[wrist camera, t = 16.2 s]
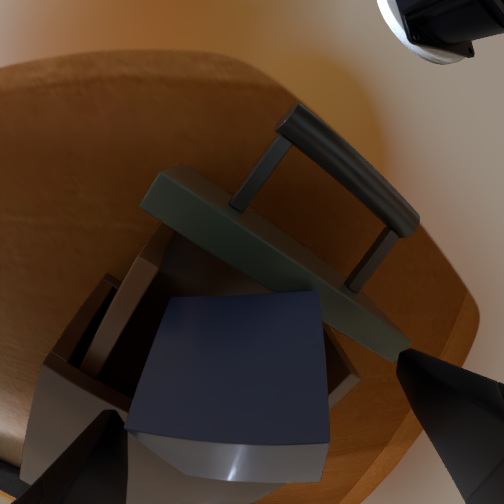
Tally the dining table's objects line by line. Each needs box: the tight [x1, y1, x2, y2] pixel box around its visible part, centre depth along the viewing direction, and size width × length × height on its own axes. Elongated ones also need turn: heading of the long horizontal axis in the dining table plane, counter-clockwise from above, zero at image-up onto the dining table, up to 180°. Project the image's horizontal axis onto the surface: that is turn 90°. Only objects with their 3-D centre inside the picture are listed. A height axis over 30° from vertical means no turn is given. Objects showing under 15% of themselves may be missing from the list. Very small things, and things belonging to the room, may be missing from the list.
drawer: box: [79, 102, 420, 410], centre depth 13 cm, size 18×11×7 cm, turn 144°
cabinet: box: [20, 273, 286, 504], centre depth 15 cm, size 15×13×9 cm
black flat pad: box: [0, 461, 31, 498], centre depth 22 cm, size 15×22×5 cm
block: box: [124, 290, 330, 483], centre depth 9 cm, size 5×5×5 cm
